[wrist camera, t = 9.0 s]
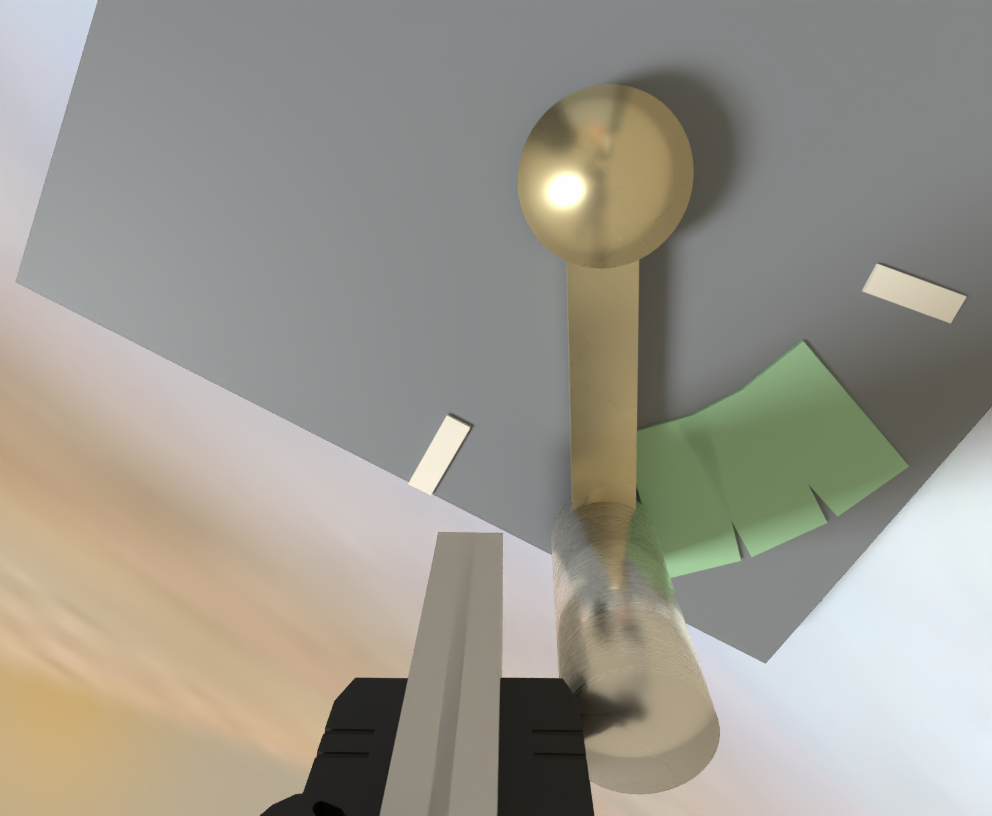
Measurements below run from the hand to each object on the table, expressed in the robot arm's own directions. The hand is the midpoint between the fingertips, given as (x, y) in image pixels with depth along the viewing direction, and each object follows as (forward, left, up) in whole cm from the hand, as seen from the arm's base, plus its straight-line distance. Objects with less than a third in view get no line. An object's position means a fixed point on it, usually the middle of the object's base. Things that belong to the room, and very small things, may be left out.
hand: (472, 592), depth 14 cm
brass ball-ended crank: (-5, 0, -3) cm, 5 cm away
